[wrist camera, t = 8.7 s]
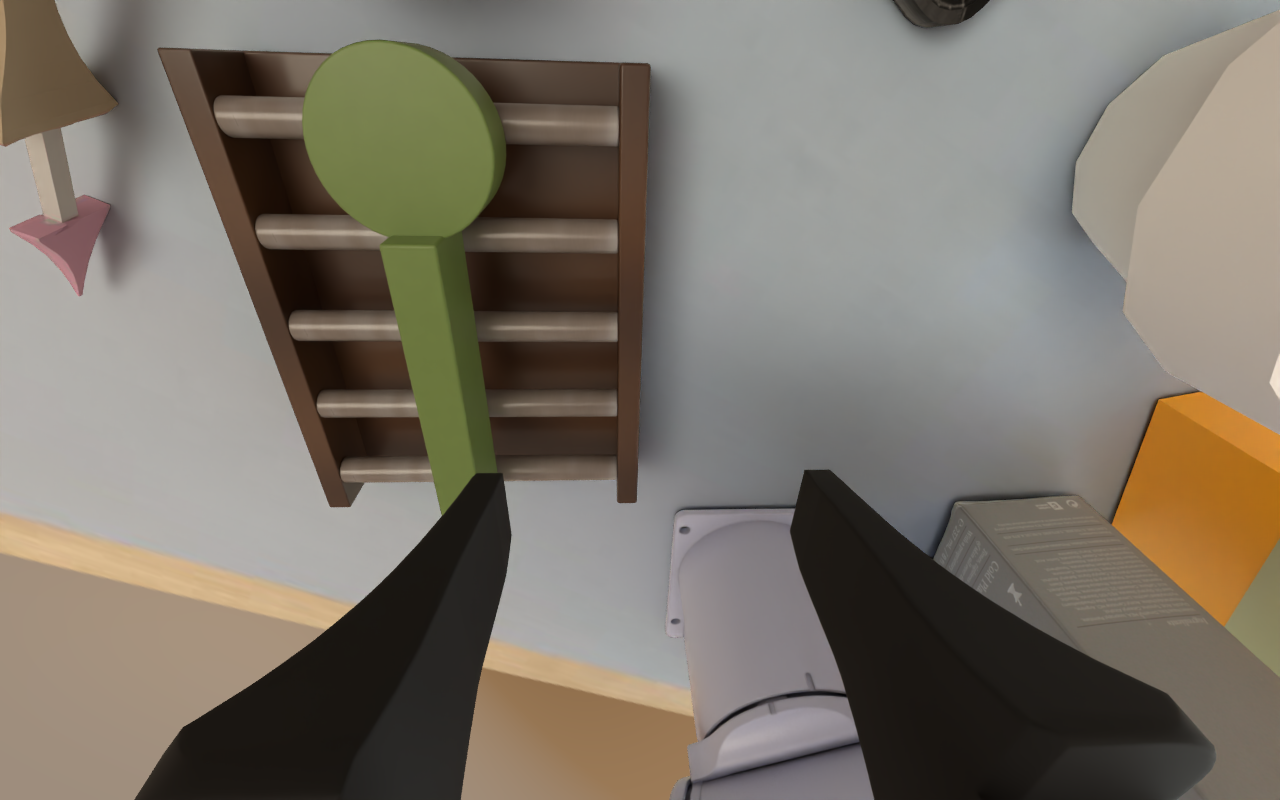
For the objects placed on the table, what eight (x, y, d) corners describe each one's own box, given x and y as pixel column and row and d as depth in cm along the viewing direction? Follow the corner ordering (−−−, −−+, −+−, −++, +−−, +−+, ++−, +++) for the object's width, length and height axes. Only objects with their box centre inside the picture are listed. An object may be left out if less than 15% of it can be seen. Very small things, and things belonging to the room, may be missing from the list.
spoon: (539, 484, 21) (530, 534, 19) (423, 485, 20) (400, 536, 18) (496, 45, 13) (474, 41, 11) (313, 39, 13) (252, 34, 11)
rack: (634, 457, 24) (637, 503, 22) (359, 459, 23) (329, 507, 21) (644, 63, 16) (651, 63, 14) (230, 50, 15) (155, 47, 13)
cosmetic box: (951, 495, 26) (1315, 955, 13) (1094, 489, 26) (1602, 934, 13) (908, 607, 30) (1142, 1033, 17) (1030, 600, 31) (1356, 1016, 17)
